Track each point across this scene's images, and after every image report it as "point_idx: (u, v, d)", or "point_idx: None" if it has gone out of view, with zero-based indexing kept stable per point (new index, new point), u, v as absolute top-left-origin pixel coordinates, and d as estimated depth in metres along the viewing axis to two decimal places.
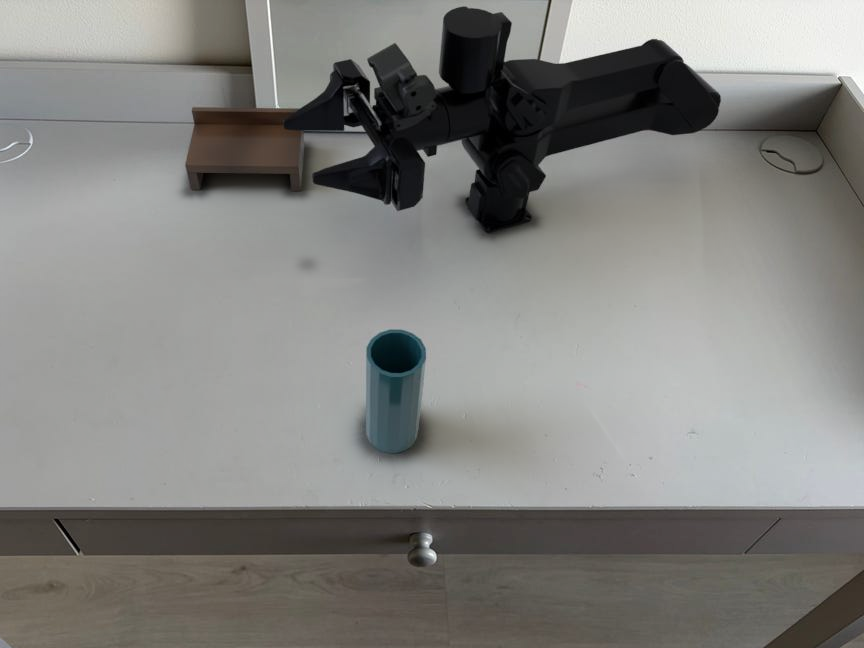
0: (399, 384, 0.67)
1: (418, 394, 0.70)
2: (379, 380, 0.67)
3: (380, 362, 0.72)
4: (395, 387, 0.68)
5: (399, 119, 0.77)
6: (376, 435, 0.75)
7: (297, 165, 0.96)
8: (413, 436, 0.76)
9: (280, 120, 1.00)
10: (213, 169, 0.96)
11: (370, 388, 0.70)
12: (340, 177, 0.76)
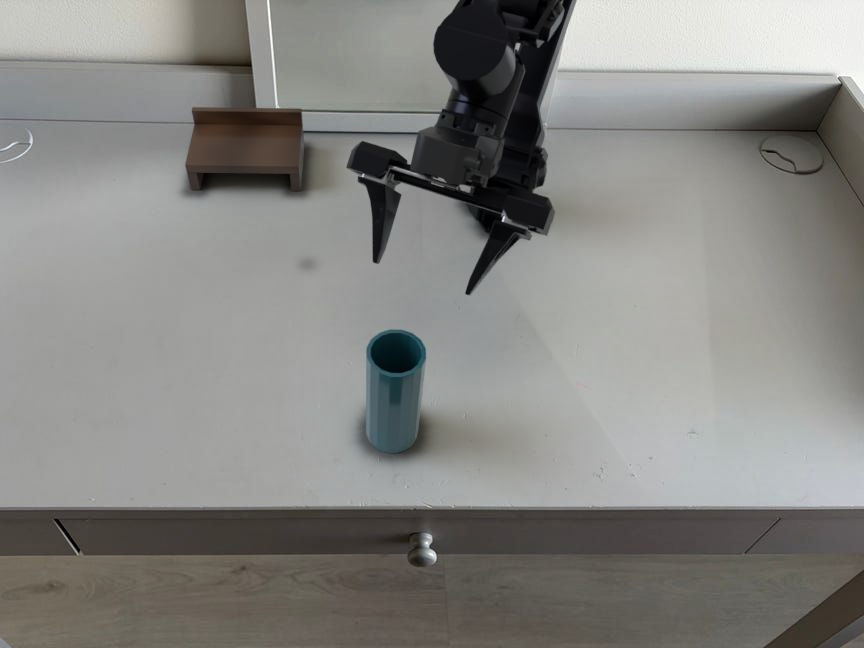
0: (399, 384, 0.67)
1: (418, 394, 0.70)
2: (379, 380, 0.67)
3: (380, 362, 0.72)
4: (395, 387, 0.68)
5: (480, 178, 0.67)
6: (376, 435, 0.75)
7: (297, 165, 0.96)
8: (413, 436, 0.76)
9: (280, 120, 1.00)
10: (213, 169, 0.96)
11: (370, 388, 0.70)
12: (486, 271, 0.70)
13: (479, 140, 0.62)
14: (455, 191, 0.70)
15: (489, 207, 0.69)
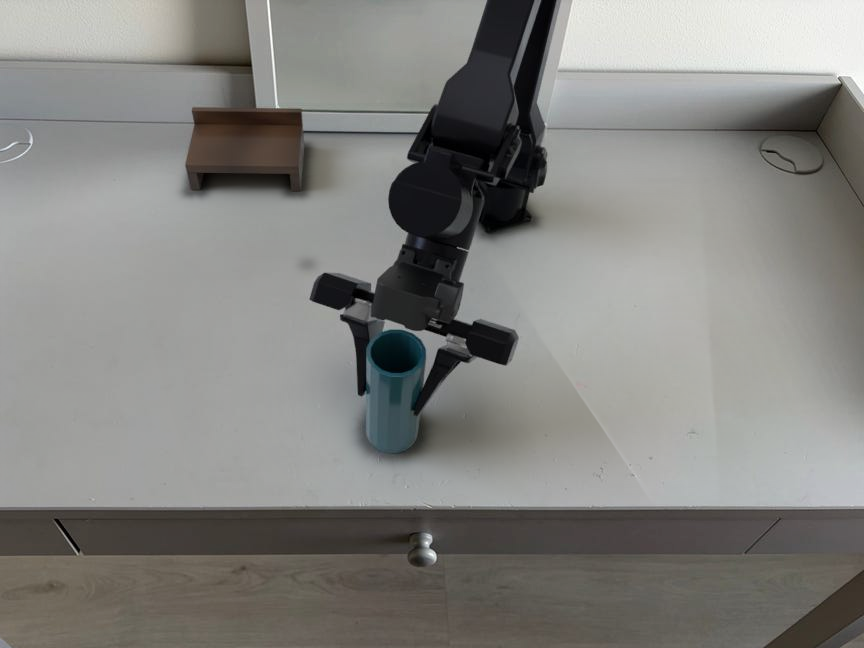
0: (399, 384, 0.67)
1: (418, 394, 0.70)
2: (379, 380, 0.67)
3: (380, 362, 0.72)
4: (395, 387, 0.68)
5: None
6: (376, 435, 0.75)
7: (297, 165, 0.96)
8: (413, 436, 0.76)
9: (280, 120, 1.00)
10: (213, 169, 0.96)
11: (370, 388, 0.70)
12: (433, 392, 0.71)
13: (438, 288, 0.62)
14: None
15: None
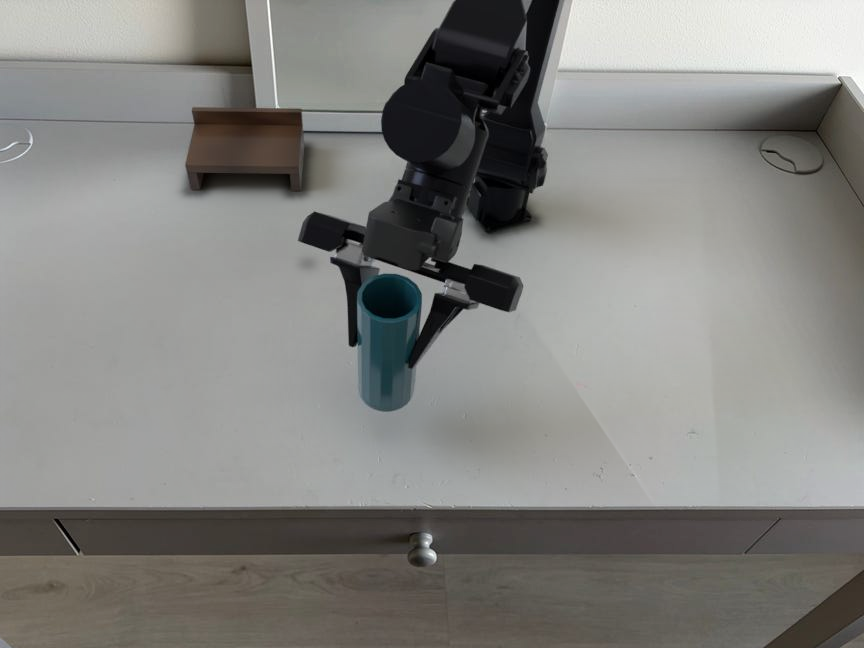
0: (392, 330, 0.62)
1: (413, 345, 0.65)
2: (370, 326, 0.62)
3: (373, 310, 0.67)
4: (388, 335, 0.62)
5: None
6: (368, 391, 0.70)
7: (297, 165, 0.96)
8: (408, 393, 0.71)
9: (280, 120, 1.00)
10: (213, 169, 0.96)
11: (361, 337, 0.65)
12: (430, 343, 0.65)
13: (435, 222, 0.57)
14: None
15: None
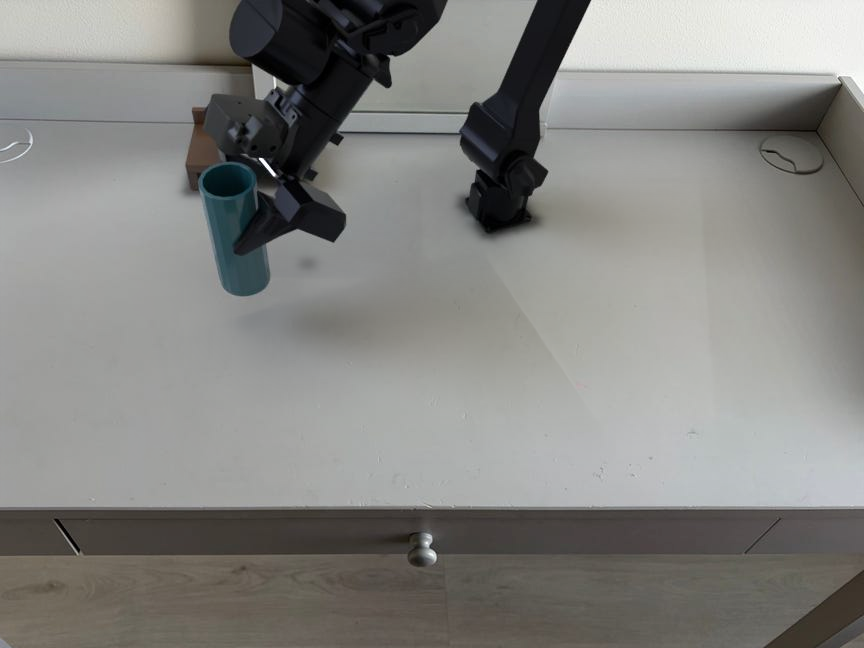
0: (212, 206, 0.70)
1: (240, 233, 0.73)
2: (201, 197, 0.71)
3: (235, 196, 0.75)
4: (210, 209, 0.71)
5: (272, 159, 0.68)
6: None
7: None
8: (248, 285, 0.78)
9: None
10: None
11: None
12: (255, 239, 0.72)
13: (250, 119, 0.64)
14: None
15: None
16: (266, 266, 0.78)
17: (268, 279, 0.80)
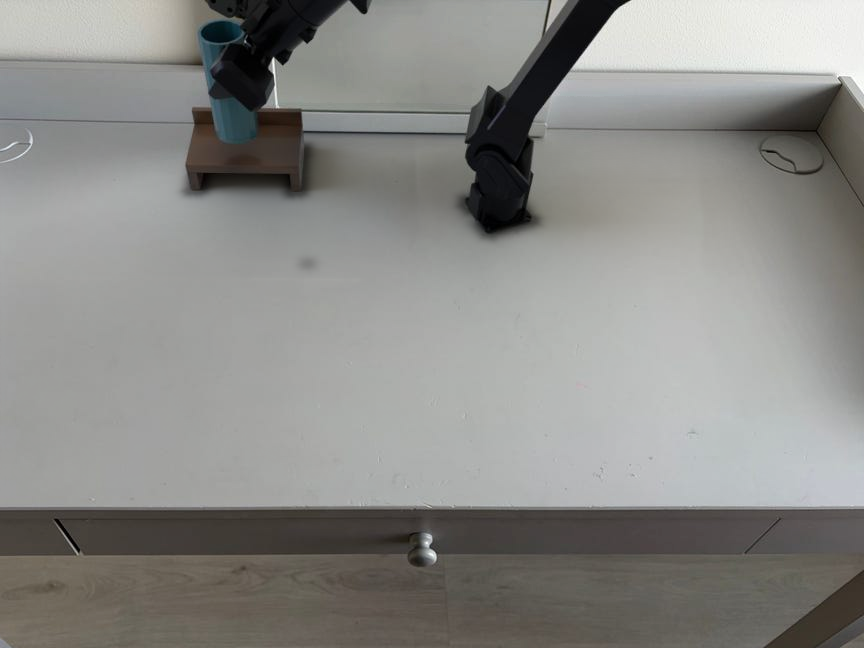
0: (199, 44, 0.86)
1: None
2: (202, 36, 0.87)
3: None
4: None
5: (240, 24, 0.81)
6: None
7: (297, 165, 0.96)
8: (223, 131, 0.93)
9: (280, 120, 1.00)
10: (213, 169, 0.96)
11: None
12: (220, 87, 0.87)
13: None
14: None
15: None
16: (242, 124, 0.92)
17: (245, 138, 0.94)
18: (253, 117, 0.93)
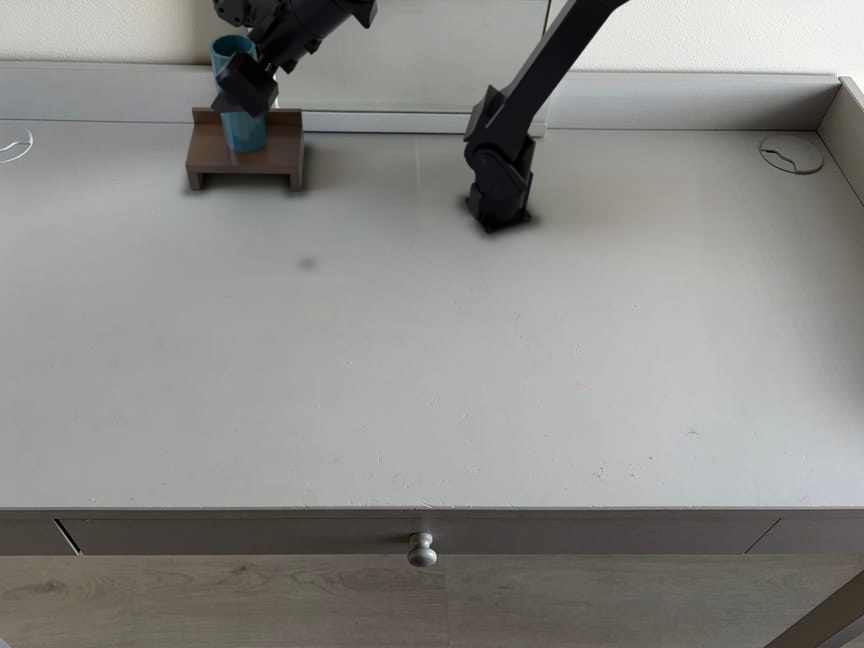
0: (211, 57, 0.89)
1: None
2: None
3: None
4: None
5: (248, 33, 0.84)
6: None
7: (297, 165, 0.96)
8: (232, 140, 0.96)
9: (280, 120, 1.00)
10: (213, 169, 0.96)
11: None
12: (222, 102, 0.88)
13: None
14: None
15: None
16: (250, 134, 0.96)
17: (253, 147, 0.97)
18: (261, 128, 0.96)
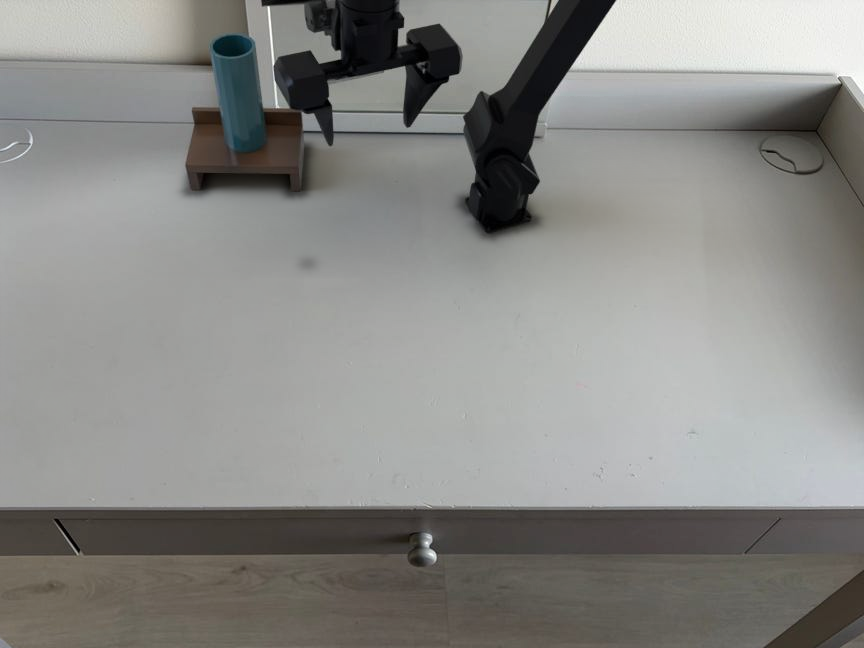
0: (211, 57, 0.89)
1: (225, 90, 0.91)
2: None
3: None
4: None
5: (331, 41, 0.79)
6: None
7: (297, 165, 0.96)
8: (232, 140, 0.96)
9: (280, 120, 1.00)
10: (213, 169, 0.96)
11: None
12: (319, 125, 0.83)
13: None
14: None
15: None
16: (250, 134, 0.96)
17: (253, 147, 0.97)
18: (261, 128, 0.96)
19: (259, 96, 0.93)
